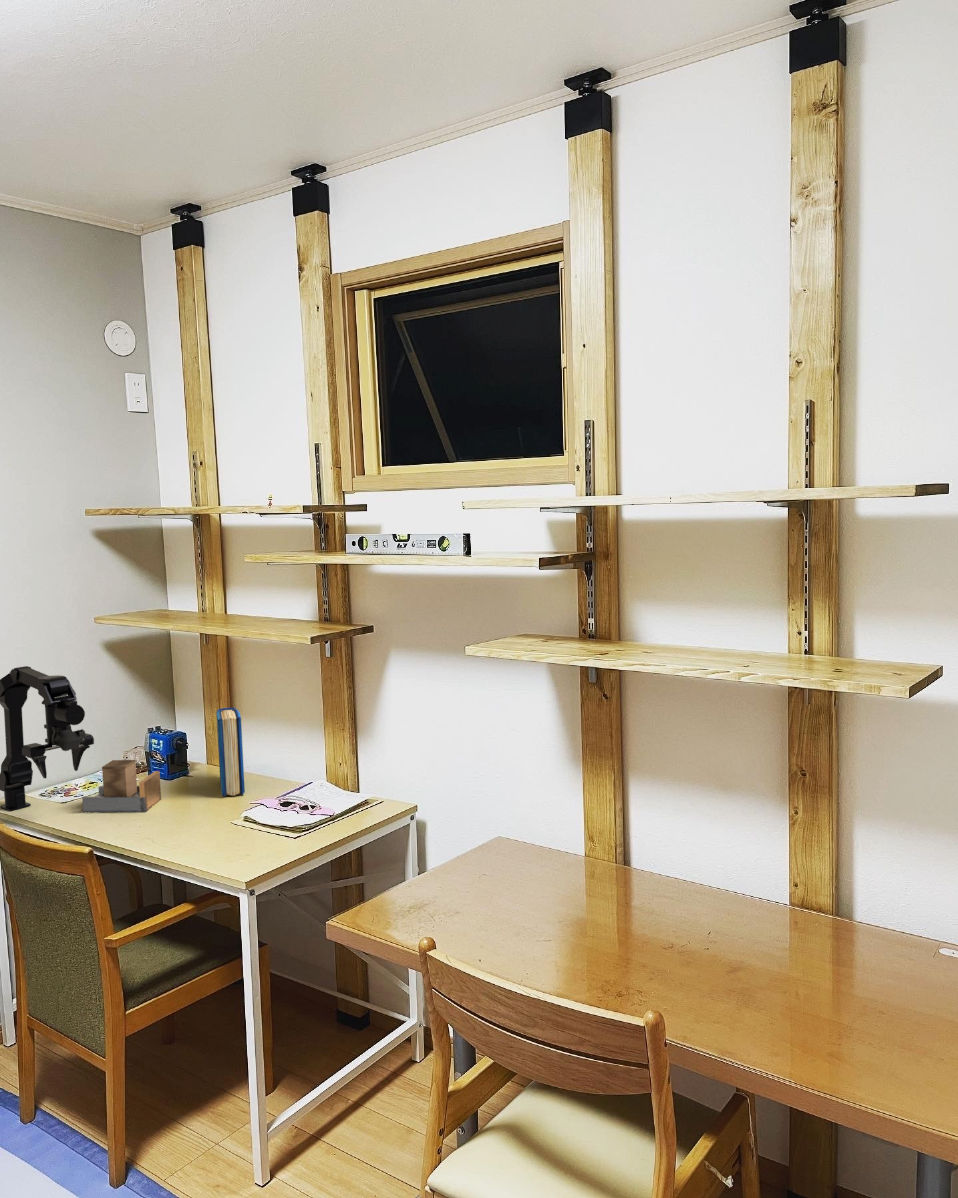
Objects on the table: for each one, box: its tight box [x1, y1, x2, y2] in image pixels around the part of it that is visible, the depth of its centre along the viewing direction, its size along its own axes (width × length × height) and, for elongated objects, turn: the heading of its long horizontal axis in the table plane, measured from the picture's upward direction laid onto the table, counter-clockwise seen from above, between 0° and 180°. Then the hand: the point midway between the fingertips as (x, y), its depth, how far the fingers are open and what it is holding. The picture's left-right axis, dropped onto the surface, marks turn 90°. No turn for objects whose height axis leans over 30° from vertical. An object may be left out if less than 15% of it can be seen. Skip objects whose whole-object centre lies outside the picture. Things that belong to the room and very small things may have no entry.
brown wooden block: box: [101, 759, 138, 796], centre depth 289 cm, size 7×8×10 cm
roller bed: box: [82, 770, 162, 814], centre depth 290 cm, size 19×12×9 cm, turn 87°
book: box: [216, 707, 246, 797], centre depth 305 cm, size 22×7×25 cm, turn 17°
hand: (60, 774), depth 273 cm, fingers open, 9 cm apart
